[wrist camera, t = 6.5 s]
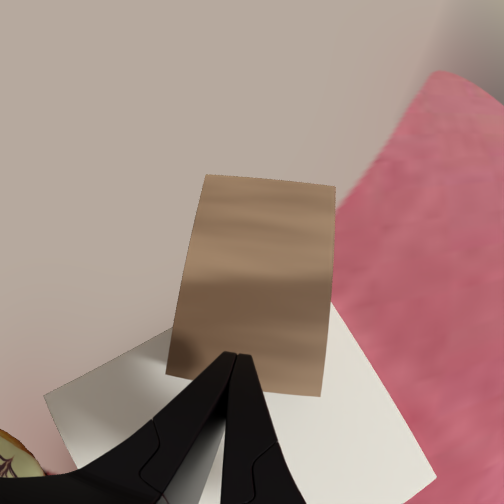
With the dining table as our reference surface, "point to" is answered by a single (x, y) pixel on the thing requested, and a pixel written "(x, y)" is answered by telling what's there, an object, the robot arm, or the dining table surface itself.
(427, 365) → the dining table surface
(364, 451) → the rubber mat
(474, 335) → the dining table surface
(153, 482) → the robot arm
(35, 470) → the decorated donut
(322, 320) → the walnut block
